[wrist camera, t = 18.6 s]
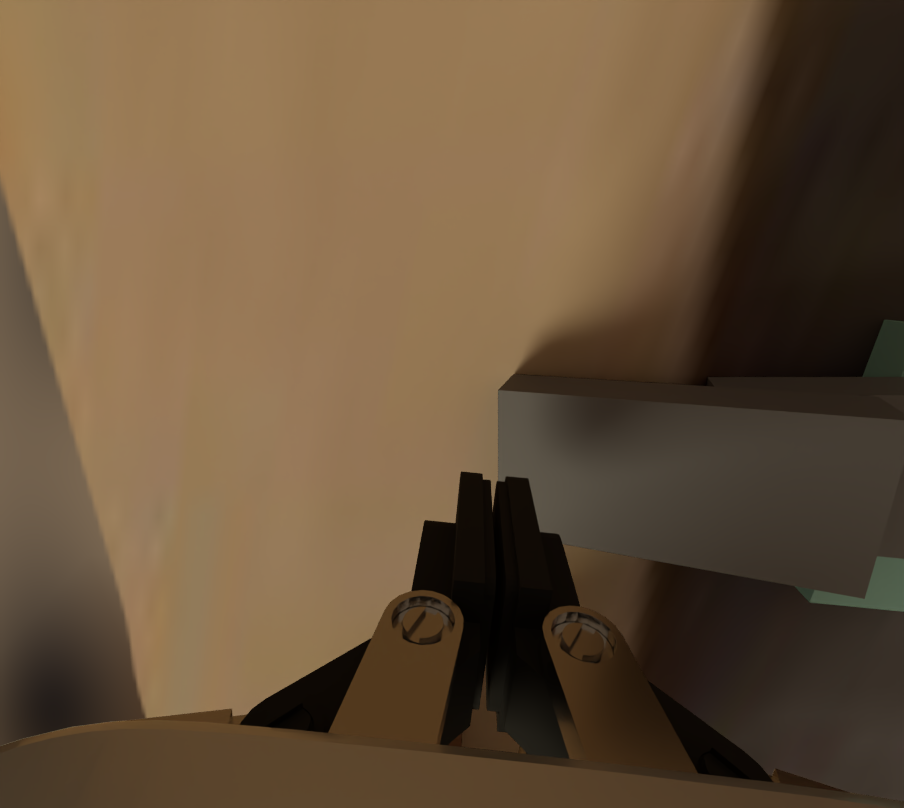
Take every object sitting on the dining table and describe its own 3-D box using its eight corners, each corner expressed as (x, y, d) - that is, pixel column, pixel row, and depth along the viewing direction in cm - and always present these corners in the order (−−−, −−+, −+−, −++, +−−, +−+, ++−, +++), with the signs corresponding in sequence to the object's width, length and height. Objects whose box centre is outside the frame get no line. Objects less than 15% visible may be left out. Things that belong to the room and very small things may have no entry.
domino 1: (512, 503, 18) (836, 554, 14) (498, 532, 16) (864, 598, 12) (513, 374, 16) (877, 396, 13) (497, 390, 14) (916, 421, 11)
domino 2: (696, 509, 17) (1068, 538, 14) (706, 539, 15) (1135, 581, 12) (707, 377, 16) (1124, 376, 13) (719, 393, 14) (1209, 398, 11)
